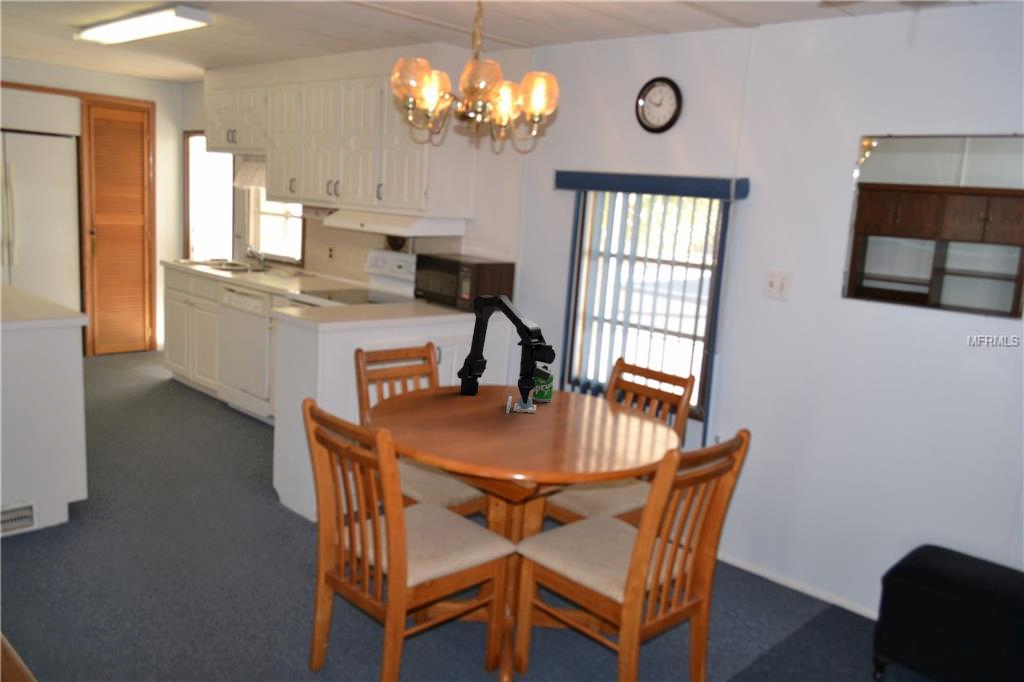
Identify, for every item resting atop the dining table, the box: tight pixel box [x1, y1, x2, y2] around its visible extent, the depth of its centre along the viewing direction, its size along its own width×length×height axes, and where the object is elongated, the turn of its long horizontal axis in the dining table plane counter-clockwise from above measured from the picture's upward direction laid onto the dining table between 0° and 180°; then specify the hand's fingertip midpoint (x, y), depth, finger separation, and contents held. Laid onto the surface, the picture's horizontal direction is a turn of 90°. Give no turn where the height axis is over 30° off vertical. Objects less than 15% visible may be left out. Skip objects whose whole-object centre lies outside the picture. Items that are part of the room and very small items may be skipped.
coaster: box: [513, 402, 537, 414], centre depth 296 cm, size 8×8×1 cm
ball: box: [518, 396, 533, 409], centre depth 296 cm, size 5×5×5 cm
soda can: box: [532, 369, 555, 403], centre depth 311 cm, size 8×8×12 cm
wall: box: [505, 395, 513, 414], centre depth 296 cm, size 1×14×3 cm, turn 176°
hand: (525, 400), depth 296 cm, fingers open, 9 cm apart
